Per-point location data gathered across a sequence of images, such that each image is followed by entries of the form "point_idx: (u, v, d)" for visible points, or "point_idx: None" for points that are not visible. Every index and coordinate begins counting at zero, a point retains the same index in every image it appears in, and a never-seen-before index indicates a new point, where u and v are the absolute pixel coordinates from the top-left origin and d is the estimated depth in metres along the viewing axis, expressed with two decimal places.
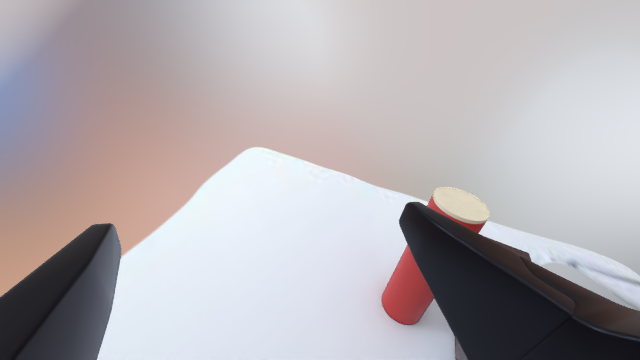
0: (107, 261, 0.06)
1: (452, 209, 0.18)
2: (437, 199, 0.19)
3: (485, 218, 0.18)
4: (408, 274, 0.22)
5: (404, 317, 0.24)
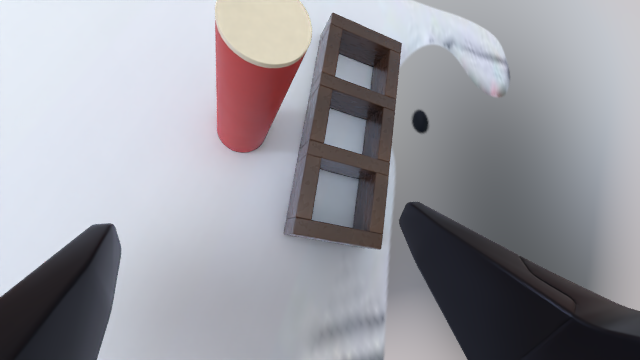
0: (107, 261, 0.06)
1: (242, 42, 0.10)
2: (218, 19, 0.10)
3: (298, 55, 0.11)
4: (224, 115, 0.17)
5: (240, 149, 0.21)
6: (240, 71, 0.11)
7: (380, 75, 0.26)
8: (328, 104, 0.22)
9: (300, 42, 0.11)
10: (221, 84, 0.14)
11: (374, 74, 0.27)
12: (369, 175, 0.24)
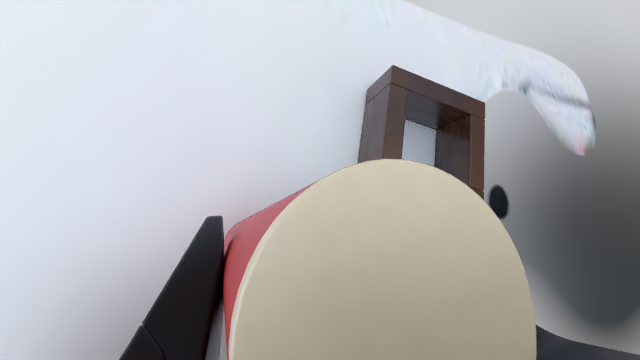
0: None
1: None
2: None
3: None
4: None
5: None
6: None
7: (454, 148, 0.18)
8: None
9: None
10: None
11: (440, 142, 0.20)
12: None
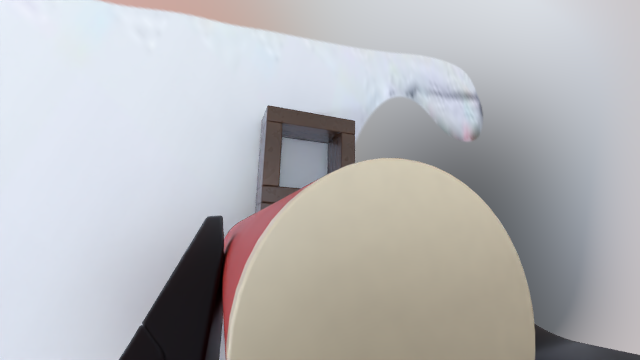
0: None
1: None
2: None
3: None
4: None
5: None
6: None
7: (335, 160, 0.23)
8: None
9: None
10: None
11: (329, 154, 0.24)
12: None
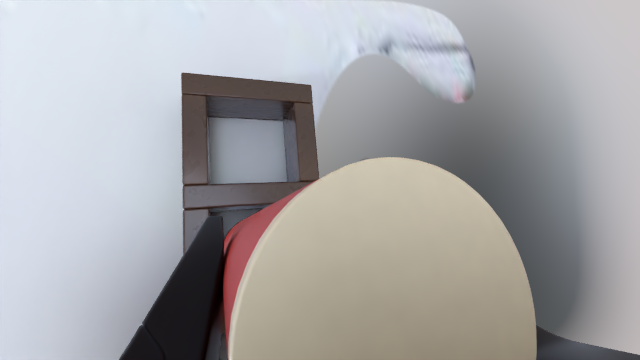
0: None
1: None
2: None
3: None
4: None
5: None
6: None
7: (291, 140, 0.17)
8: None
9: None
10: None
11: (285, 134, 0.18)
12: None
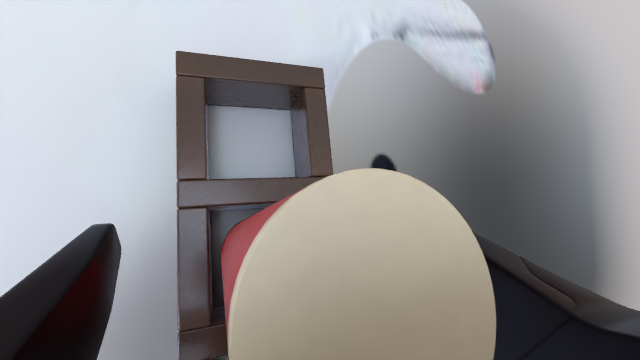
0: (107, 261, 0.06)
1: None
2: None
3: None
4: None
5: None
6: None
7: (300, 131, 0.15)
8: (204, 242, 0.12)
9: (475, 355, 0.04)
10: None
11: (293, 125, 0.17)
12: None
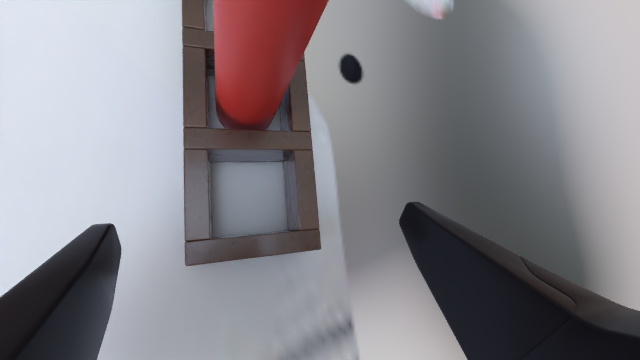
0: (107, 261, 0.06)
1: None
2: None
3: None
4: (224, 84, 0.13)
5: None
6: (246, 2, 0.08)
7: None
8: (202, 71, 0.16)
9: None
10: (220, 34, 0.10)
11: None
12: (290, 155, 0.18)
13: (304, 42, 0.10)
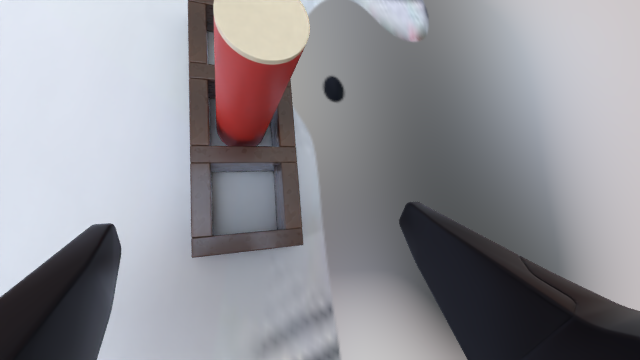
0: (107, 261, 0.06)
1: (240, 38, 0.10)
2: (216, 15, 0.10)
3: (295, 51, 0.11)
4: (223, 113, 0.17)
5: None
6: (238, 67, 0.11)
7: None
8: (205, 98, 0.19)
9: (298, 39, 0.11)
10: (220, 81, 0.14)
11: None
12: (279, 166, 0.21)
13: (283, 87, 0.14)
